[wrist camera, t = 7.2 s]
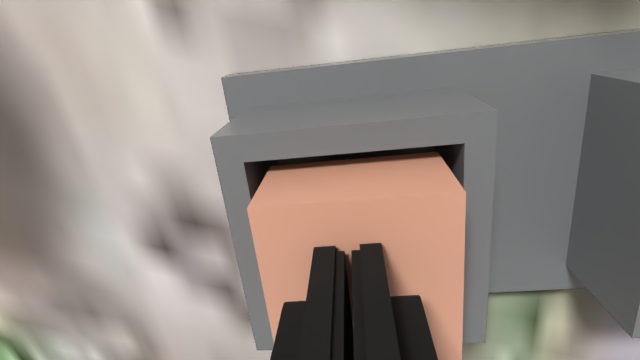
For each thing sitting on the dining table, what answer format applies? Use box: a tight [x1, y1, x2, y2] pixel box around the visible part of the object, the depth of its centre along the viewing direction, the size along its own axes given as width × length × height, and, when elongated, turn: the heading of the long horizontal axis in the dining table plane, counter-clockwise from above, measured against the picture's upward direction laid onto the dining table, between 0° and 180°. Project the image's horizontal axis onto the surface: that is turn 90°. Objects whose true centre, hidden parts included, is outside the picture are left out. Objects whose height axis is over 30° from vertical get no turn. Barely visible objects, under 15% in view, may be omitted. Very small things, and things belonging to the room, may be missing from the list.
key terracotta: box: [247, 152, 466, 360], centre depth 11 cm, size 5×5×3 cm
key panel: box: [210, 29, 640, 350], centre depth 13 cm, size 21×10×5 cm, turn 97°
